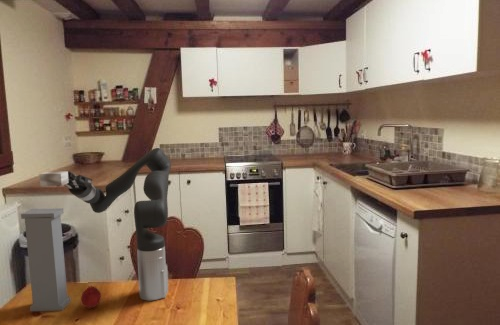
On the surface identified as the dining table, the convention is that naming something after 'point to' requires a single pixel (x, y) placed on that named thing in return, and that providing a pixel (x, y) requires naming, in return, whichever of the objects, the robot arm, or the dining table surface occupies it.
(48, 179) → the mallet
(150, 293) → the robot arm
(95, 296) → the onion
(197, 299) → the dining table surface
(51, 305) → the stand
